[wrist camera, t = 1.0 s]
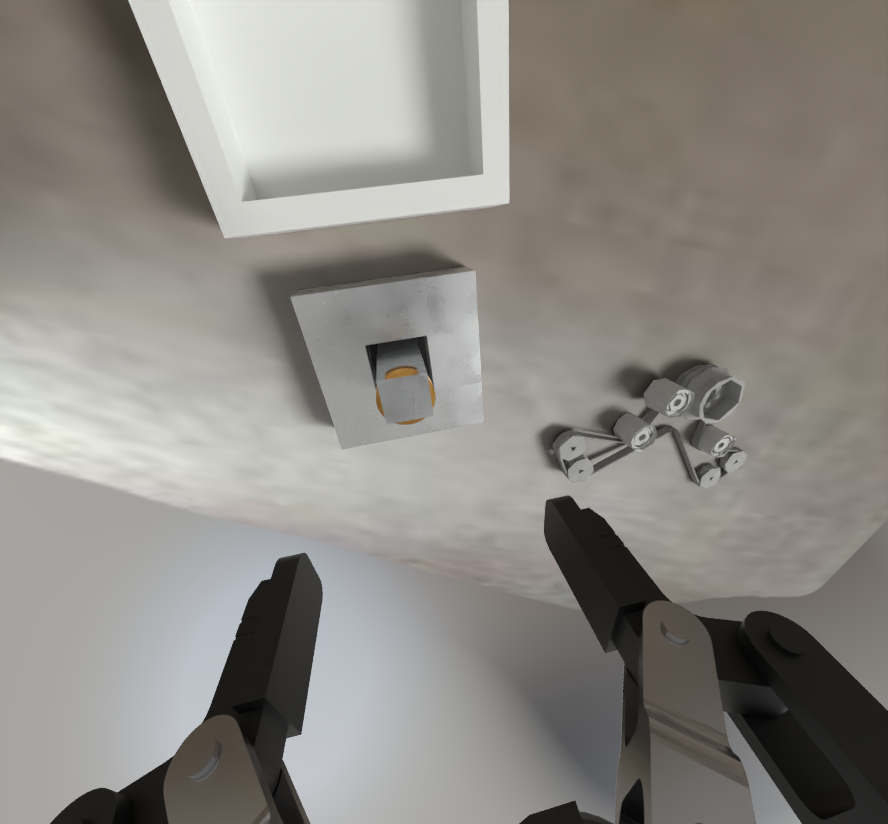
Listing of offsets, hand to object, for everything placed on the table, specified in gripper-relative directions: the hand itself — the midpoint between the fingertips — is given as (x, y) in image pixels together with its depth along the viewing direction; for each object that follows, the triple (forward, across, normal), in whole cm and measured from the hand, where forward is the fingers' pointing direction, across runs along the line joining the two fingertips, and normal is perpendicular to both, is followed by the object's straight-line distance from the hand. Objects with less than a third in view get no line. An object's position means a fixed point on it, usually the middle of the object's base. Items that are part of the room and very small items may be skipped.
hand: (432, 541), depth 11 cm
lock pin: (+18, 0, 0) cm, 18 cm away
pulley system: (+19, -28, +13) cm, 36 cm away
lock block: (+18, 0, 0) cm, 18 cm away
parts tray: (+18, 0, -16) cm, 24 cm away
